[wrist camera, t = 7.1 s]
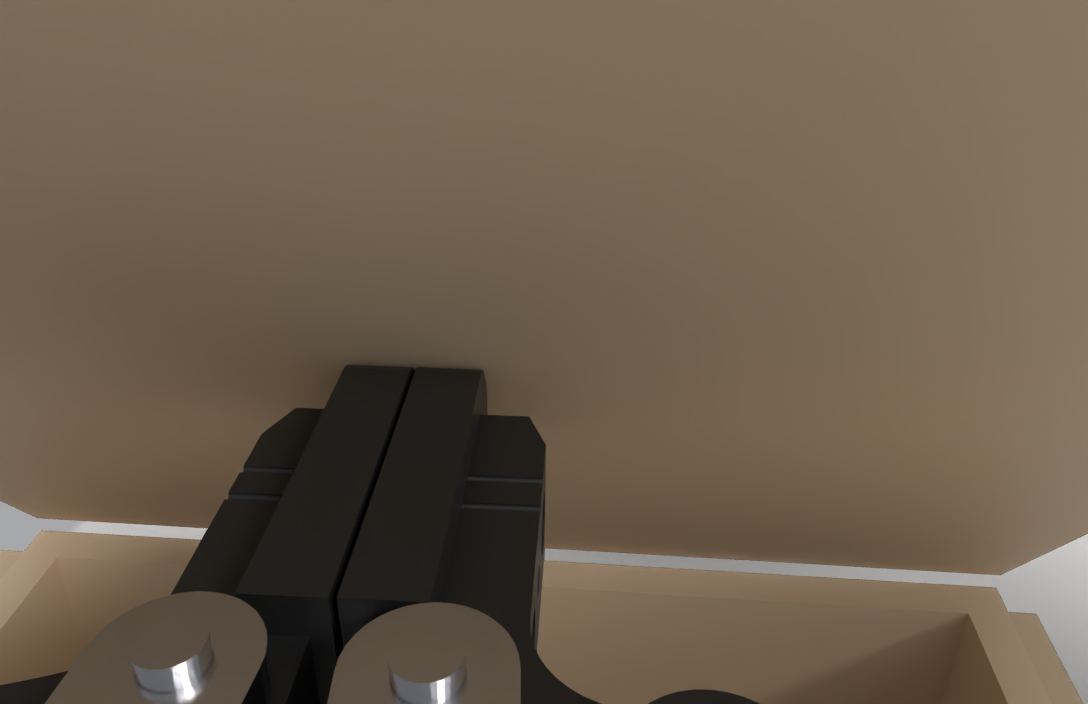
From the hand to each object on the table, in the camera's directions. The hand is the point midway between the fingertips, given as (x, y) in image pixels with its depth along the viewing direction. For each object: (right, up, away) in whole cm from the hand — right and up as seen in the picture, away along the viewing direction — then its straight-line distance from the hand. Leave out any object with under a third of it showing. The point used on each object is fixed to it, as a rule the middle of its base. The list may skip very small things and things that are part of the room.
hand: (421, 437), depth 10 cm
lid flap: (0, 0, +1) cm, 1 cm away
